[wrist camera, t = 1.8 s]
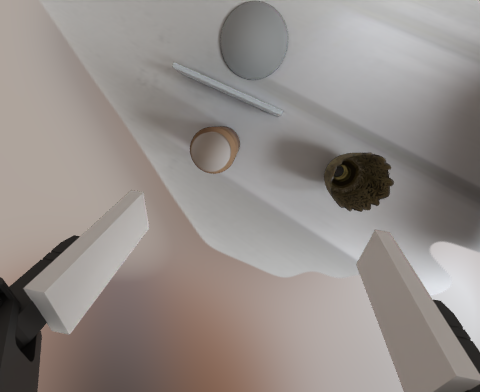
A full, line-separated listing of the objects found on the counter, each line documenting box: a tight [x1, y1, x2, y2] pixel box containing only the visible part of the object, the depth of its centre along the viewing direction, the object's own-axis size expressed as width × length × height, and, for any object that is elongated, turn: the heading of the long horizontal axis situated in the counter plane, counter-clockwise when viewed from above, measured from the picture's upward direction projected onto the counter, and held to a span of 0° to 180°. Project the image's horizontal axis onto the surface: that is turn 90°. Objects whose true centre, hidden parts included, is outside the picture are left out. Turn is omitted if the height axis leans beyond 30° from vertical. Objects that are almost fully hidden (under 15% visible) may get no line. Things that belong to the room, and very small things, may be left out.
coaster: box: [221, 1, 288, 80], centre depth 30 cm, size 9×9×1 cm
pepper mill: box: [190, 127, 240, 174], centre depth 29 cm, size 5×5×12 cm
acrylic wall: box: [172, 62, 283, 117], centre depth 31 cm, size 15×1×4 cm, turn 67°
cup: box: [324, 153, 394, 212], centre depth 31 cm, size 8×7×8 cm
